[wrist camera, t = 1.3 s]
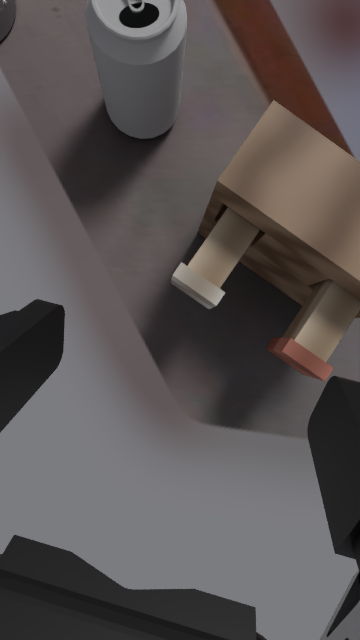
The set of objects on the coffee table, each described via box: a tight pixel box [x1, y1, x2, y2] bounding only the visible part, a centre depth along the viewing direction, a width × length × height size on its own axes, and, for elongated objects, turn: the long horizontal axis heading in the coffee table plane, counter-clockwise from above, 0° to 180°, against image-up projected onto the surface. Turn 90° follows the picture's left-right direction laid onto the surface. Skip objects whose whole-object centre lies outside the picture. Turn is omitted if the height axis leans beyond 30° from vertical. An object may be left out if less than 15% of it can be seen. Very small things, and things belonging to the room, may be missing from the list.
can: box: [85, 0, 187, 139], centre depth 29 cm, size 8×8×12 cm
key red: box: [266, 279, 360, 381], centre depth 28 cm, size 4×9×4 cm, turn 145°
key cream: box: [171, 207, 260, 309], centre depth 27 cm, size 4×9×4 cm, turn 146°
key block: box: [198, 100, 360, 318], centre depth 29 cm, size 16×7×12 cm, turn 55°
